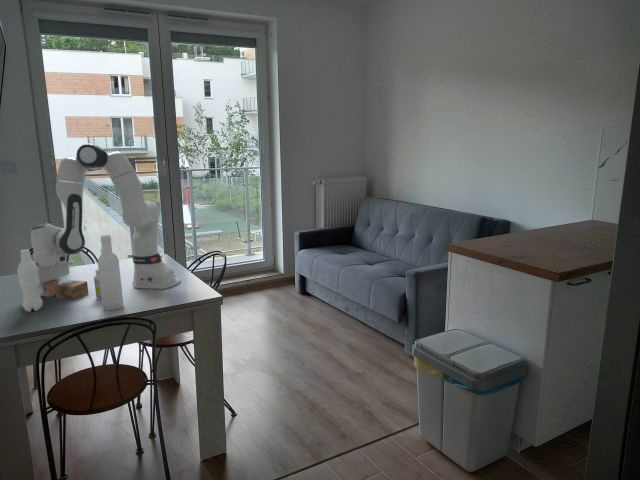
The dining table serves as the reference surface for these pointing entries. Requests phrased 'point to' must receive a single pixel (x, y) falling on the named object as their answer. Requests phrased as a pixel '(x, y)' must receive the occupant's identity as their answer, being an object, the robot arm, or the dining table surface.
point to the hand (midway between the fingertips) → (49, 290)
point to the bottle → (109, 276)
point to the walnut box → (71, 290)
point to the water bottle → (29, 282)
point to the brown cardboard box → (50, 288)
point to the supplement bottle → (97, 285)
